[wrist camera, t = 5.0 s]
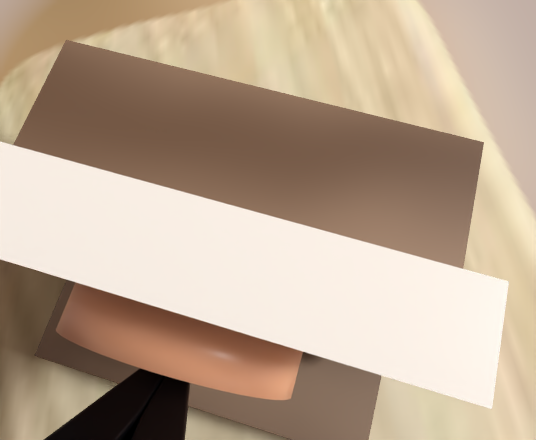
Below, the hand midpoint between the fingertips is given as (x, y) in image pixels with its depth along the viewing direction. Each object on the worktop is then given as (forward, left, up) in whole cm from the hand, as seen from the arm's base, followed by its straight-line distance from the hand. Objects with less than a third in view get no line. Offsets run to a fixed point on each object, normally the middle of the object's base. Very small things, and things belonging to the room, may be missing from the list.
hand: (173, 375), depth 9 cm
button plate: (+1, 0, -4) cm, 4 cm away
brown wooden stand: (+3, +1, -7) cm, 7 cm away
